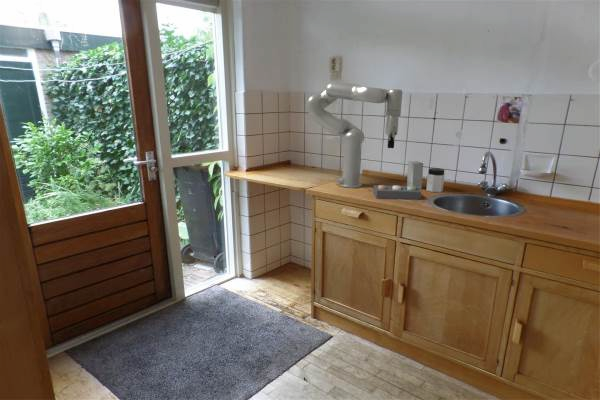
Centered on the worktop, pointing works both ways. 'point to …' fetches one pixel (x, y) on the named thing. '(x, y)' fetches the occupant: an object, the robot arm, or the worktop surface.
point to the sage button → (411, 188)
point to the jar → (435, 180)
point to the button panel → (396, 193)
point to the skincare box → (415, 174)
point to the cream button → (396, 187)
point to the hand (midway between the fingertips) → (390, 147)
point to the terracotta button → (382, 186)
